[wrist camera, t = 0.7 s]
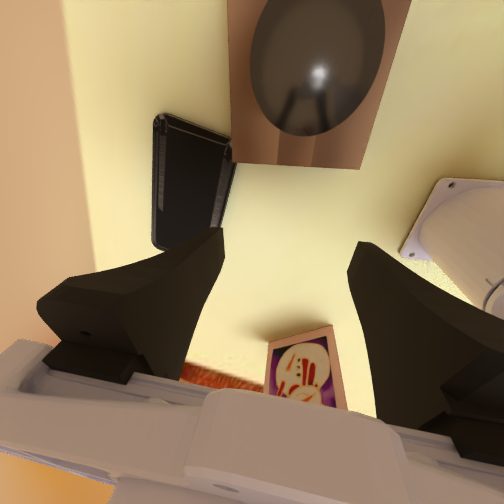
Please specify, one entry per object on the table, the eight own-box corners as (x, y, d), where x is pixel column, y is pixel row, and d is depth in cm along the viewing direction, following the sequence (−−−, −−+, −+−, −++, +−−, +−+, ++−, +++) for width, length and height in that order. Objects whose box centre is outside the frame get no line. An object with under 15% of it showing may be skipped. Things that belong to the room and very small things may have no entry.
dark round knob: (348, 37, 11) (412, -48, 5) (330, 125, 13) (359, 138, 7) (273, 38, 11) (250, -37, 5) (268, 123, 14) (248, 134, 8)
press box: (390, -6, 12) (426, -48, 9) (347, 158, 17) (359, 169, 14) (242, 1, 13) (225, -34, 10) (243, 153, 18) (232, 162, 15)
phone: (240, 143, 17) (209, 267, 26) (243, 141, 18) (212, 262, 27) (151, 108, 17) (150, 246, 26) (159, 108, 18) (155, 242, 27)
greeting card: (329, 321, 29) (354, 471, 17) (352, 348, 32) (387, 495, 20) (265, 340, 35) (250, 464, 22) (289, 362, 37) (287, 483, 25)
